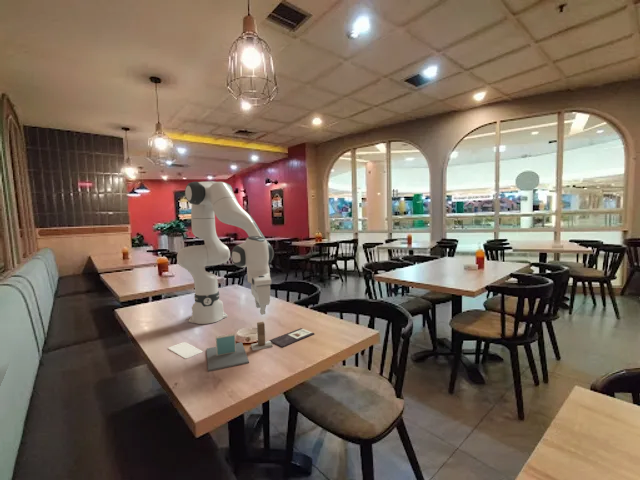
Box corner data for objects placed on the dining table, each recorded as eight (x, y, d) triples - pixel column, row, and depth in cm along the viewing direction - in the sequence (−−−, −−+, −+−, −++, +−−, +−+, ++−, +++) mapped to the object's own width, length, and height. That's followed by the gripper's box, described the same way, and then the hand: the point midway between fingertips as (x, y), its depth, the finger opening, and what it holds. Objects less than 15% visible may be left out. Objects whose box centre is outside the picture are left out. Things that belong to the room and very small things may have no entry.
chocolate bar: (269, 340, 128) (301, 328, 141) (269, 342, 128) (301, 330, 141) (282, 346, 122) (314, 333, 134) (282, 348, 122) (314, 335, 134)
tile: (216, 353, 116) (215, 336, 116) (235, 350, 119) (234, 333, 118) (216, 355, 115) (215, 338, 114) (235, 352, 117) (234, 334, 117)
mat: (206, 349, 121) (206, 348, 121) (242, 343, 127) (242, 342, 127) (208, 371, 105) (208, 369, 105) (248, 362, 110) (248, 361, 110)
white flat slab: (185, 358, 114) (167, 347, 123) (185, 360, 114) (167, 349, 123) (203, 351, 120) (184, 341, 129) (203, 353, 120) (184, 343, 129)
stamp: (251, 346, 124) (249, 323, 123) (270, 343, 127) (269, 319, 126) (252, 350, 120) (251, 326, 119) (272, 346, 123) (271, 323, 122)
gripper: (246, 273, 129) (248, 305, 130) (255, 282, 110) (257, 319, 111) (261, 271, 131) (263, 302, 132) (272, 280, 112) (274, 316, 113)
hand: (260, 310), depth 122 cm, fingers open, 8 cm apart
